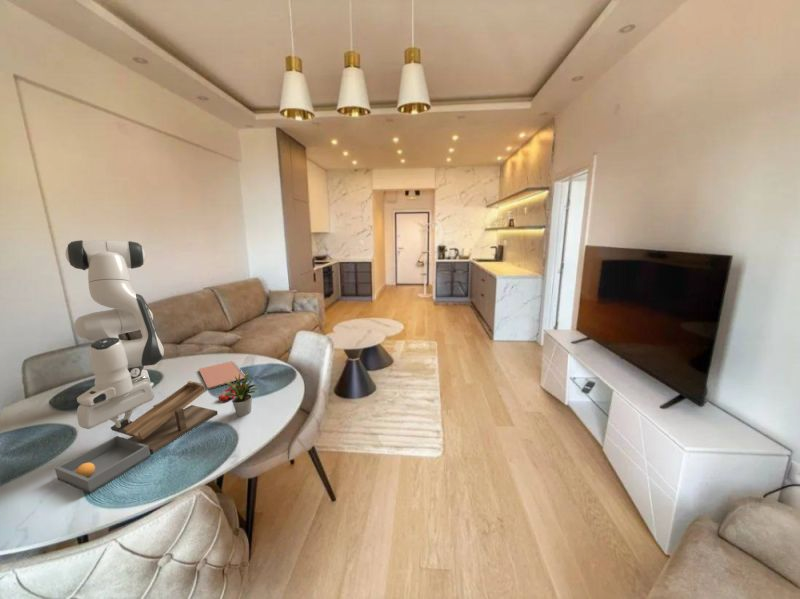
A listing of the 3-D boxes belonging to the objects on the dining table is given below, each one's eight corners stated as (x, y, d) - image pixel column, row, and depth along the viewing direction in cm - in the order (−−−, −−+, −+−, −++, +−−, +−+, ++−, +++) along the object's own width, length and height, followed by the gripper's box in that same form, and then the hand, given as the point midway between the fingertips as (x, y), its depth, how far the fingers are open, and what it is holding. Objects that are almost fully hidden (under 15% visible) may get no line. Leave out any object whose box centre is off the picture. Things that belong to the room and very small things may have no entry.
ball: (68, 471, 90) (84, 458, 93) (78, 479, 92) (93, 465, 96) (77, 475, 89) (92, 461, 92) (86, 482, 91) (101, 469, 94)
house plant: (228, 429, 115) (222, 388, 112) (215, 415, 124) (209, 376, 121) (267, 413, 125) (262, 374, 122) (252, 401, 135) (247, 365, 131)
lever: (113, 432, 108) (107, 422, 106) (178, 386, 129) (174, 378, 127) (144, 441, 103) (138, 431, 101) (207, 392, 123) (203, 383, 122)
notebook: (247, 380, 156) (247, 376, 155) (208, 391, 145) (207, 387, 145) (234, 363, 176) (234, 360, 176) (199, 372, 166) (198, 368, 165)
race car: (224, 404, 133) (223, 395, 132) (215, 402, 135) (214, 393, 134) (250, 390, 145) (249, 381, 144) (241, 387, 147) (240, 380, 146)
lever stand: (125, 444, 108) (120, 420, 106) (192, 408, 130) (188, 388, 128) (153, 453, 103) (148, 428, 101) (217, 414, 125) (214, 393, 123)
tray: (57, 479, 93) (54, 467, 92) (119, 446, 107) (117, 435, 106) (90, 493, 87) (87, 481, 87) (150, 456, 102) (148, 445, 101)
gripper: (142, 373, 115) (149, 407, 118) (69, 400, 96) (80, 441, 99) (154, 375, 113) (161, 410, 116) (82, 404, 94) (92, 445, 97)
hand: (123, 425), depth 107 cm, fingers closed
